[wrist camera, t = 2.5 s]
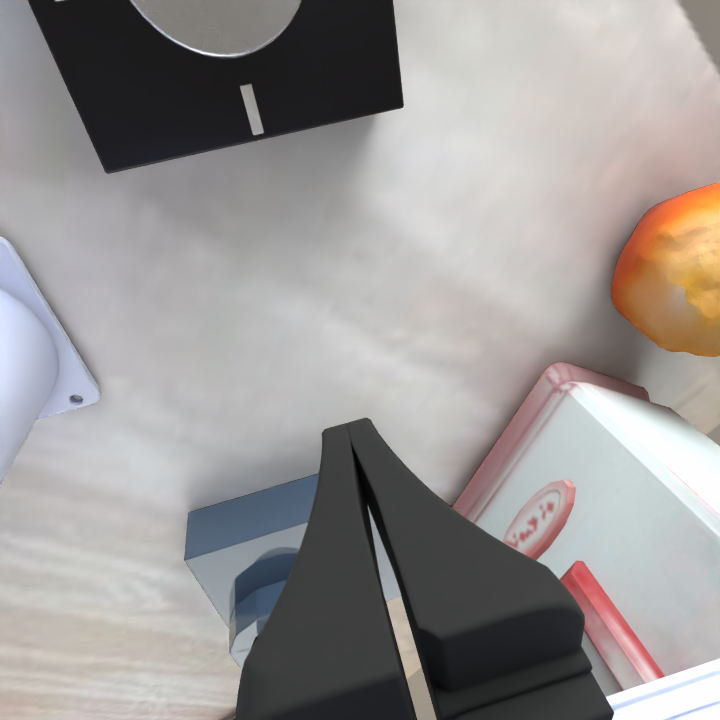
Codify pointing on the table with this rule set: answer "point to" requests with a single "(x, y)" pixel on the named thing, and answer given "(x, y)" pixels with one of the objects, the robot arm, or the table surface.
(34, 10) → the tap plate
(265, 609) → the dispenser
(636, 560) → the bottle
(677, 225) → the fruit
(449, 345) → the table surface
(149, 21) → the rotary dial knob
